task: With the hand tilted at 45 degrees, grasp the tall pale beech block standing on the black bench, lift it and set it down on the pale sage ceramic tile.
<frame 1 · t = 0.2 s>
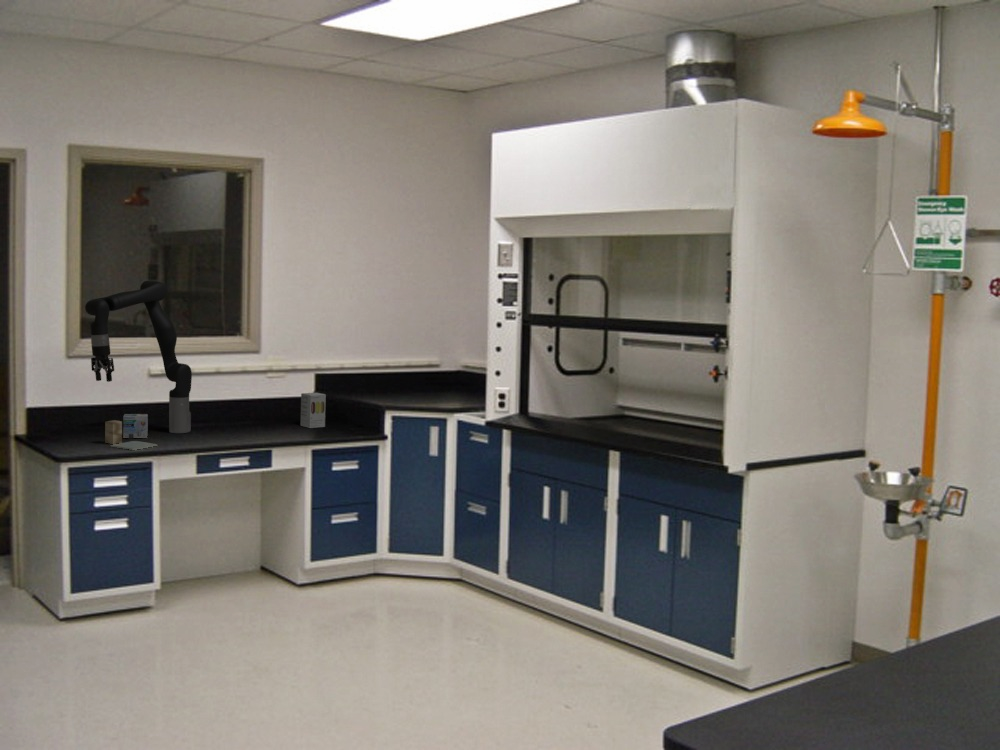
hand: (104, 381, 478), 28 cm above the table, tool pointing down, fingers open, 8 cm apart
beech block: (113, 443, 484), on the table
supplement box: (312, 426, 550), on the table
light bulb box: (135, 438, 500), on the table
sage tile: (133, 446, 478), on the table
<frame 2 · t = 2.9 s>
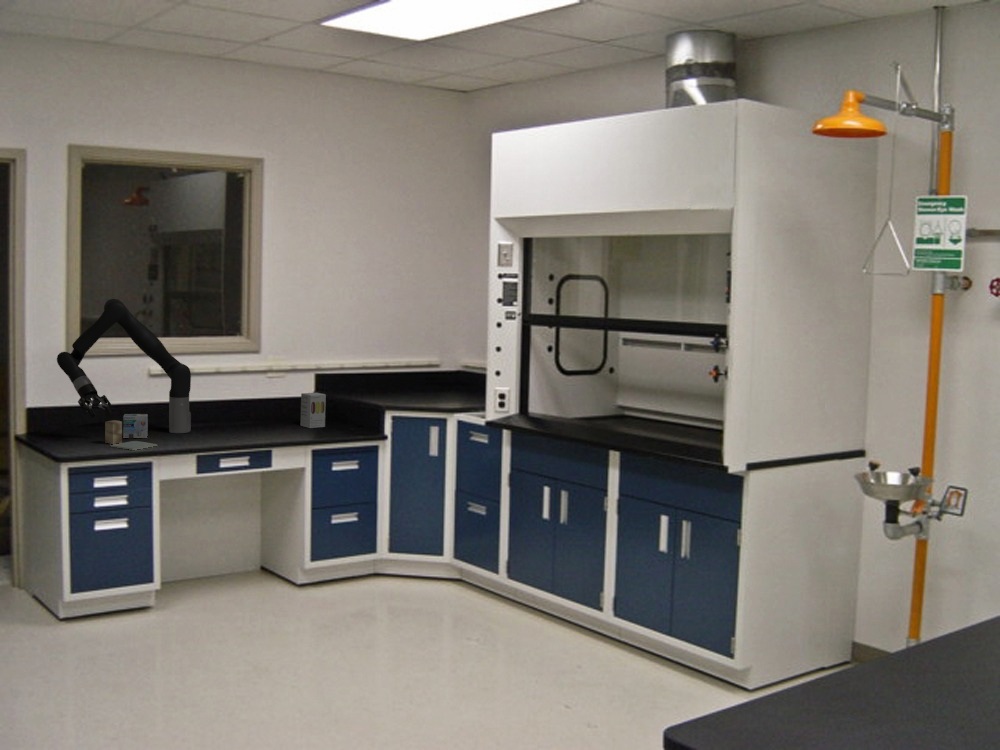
hand: (102, 415, 486), 12 cm above the table, tool tilted 45°, fingers open, 8 cm apart
nothing on the table moved.
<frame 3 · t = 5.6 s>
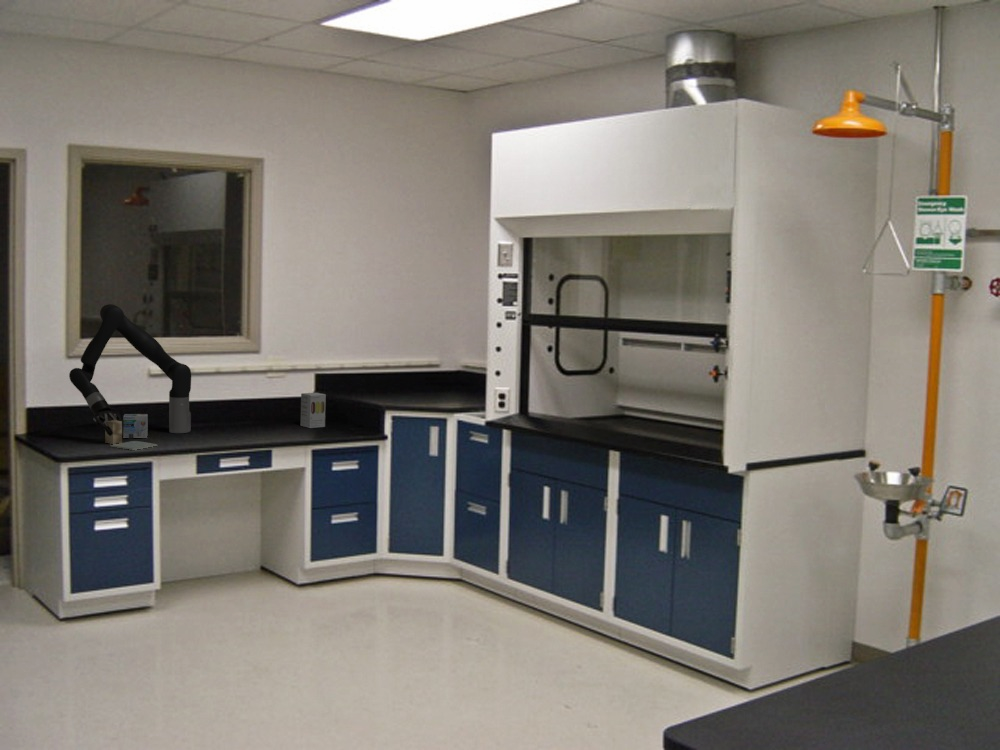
hand: (116, 433, 483), 5 cm above the table, tool tilted 45°, fingers closed on beech block, 5 cm apart
beech block: (113, 443, 484), on the table, touching gripper
everything else where it was.
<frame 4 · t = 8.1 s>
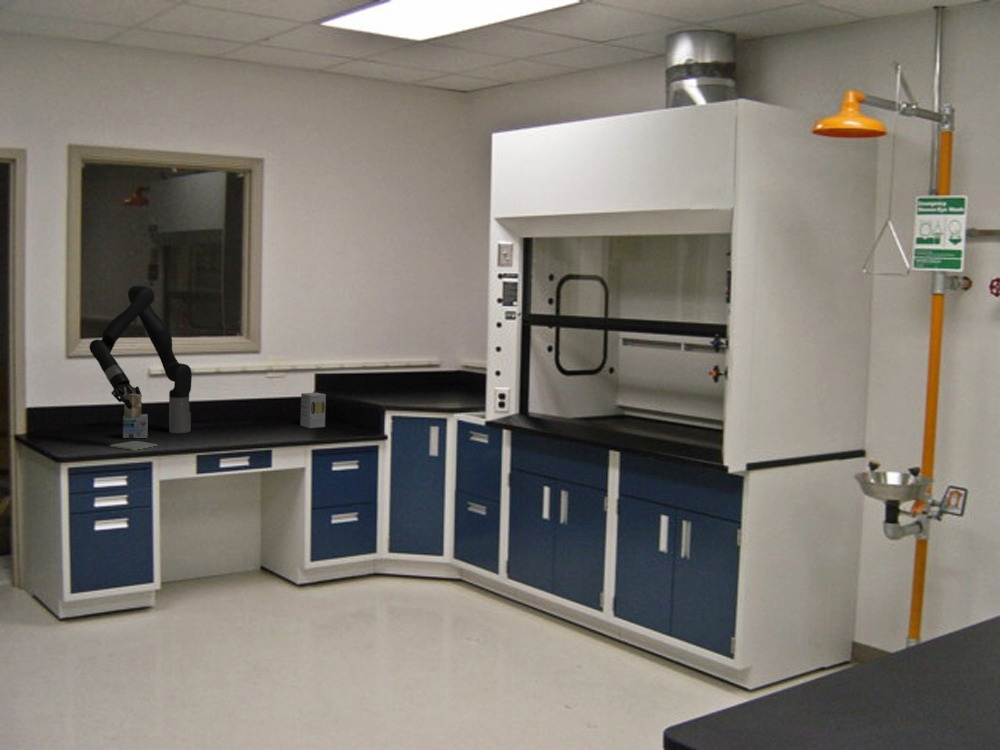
hand: (135, 407, 475), 18 cm above the table, tool tilted 45°, fingers closed on beech block, 5 cm apart
beech block: (132, 417, 476), point 13 cm above the table, touching gripper
everything else where it was.
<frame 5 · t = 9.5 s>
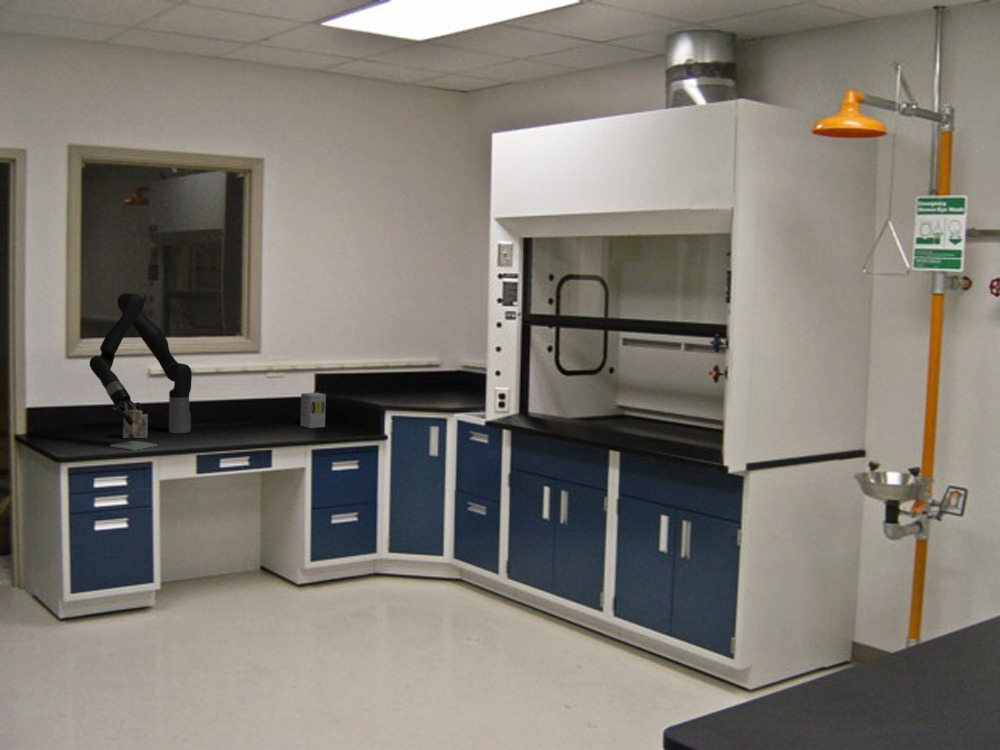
hand: (136, 423, 476), 11 cm above the table, tool tilted 45°, fingers closed on beech block, 5 cm apart
beech block: (133, 433, 477), point 6 cm above the table, touching gripper
everything else where it was.
when the fingers open (7 cm above the table, at t = 10.8 s): beech block stays where it is, resting on sage tile.
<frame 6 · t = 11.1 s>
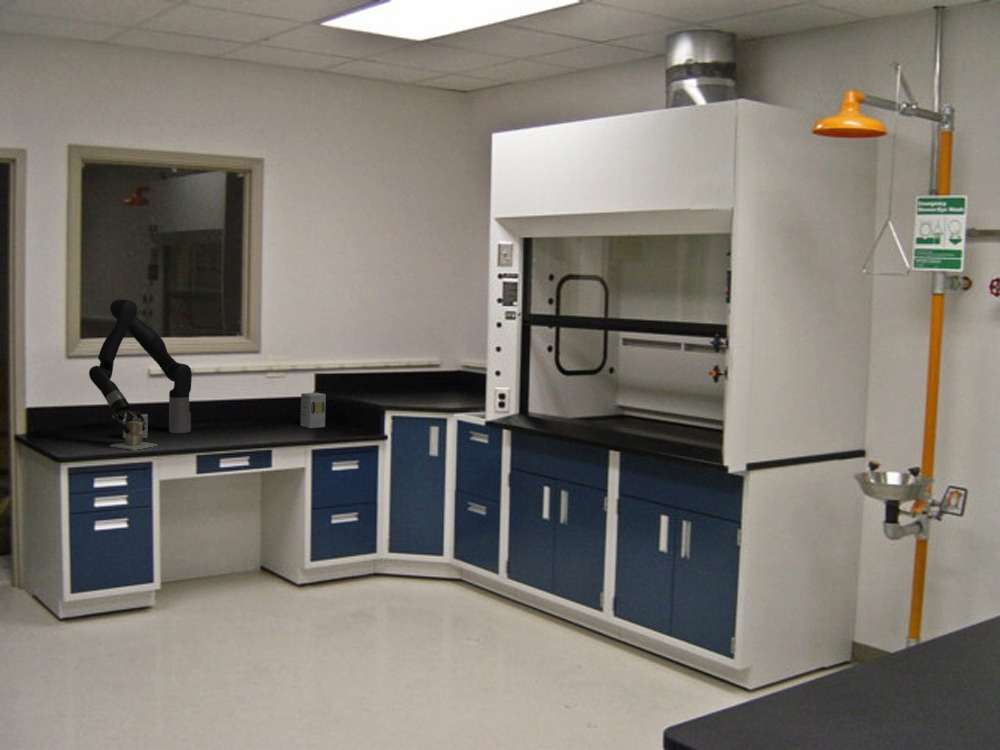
hand: (136, 431, 476), 7 cm above the table, tool tilted 45°, fingers open, 8 cm apart
beech block: (133, 444, 478), point 1 cm above the table, touching sage tile
everything else where it was.
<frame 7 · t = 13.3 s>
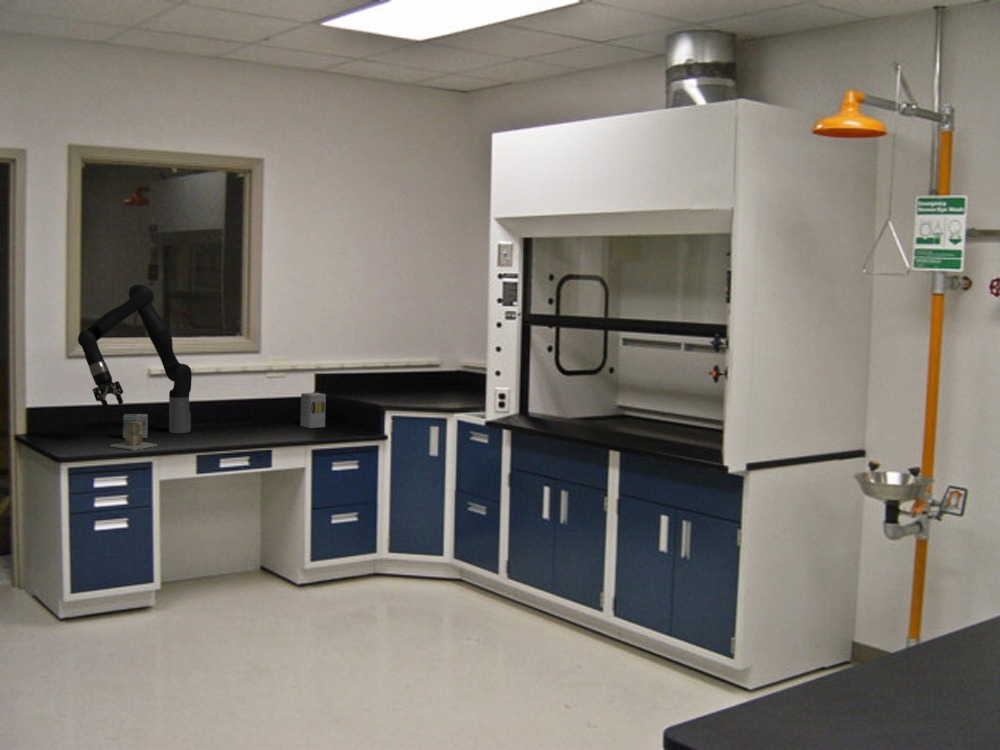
hand: (114, 406, 487), 16 cm above the table, tool tilted 25°, fingers open, 8 cm apart
nothing on the table moved.
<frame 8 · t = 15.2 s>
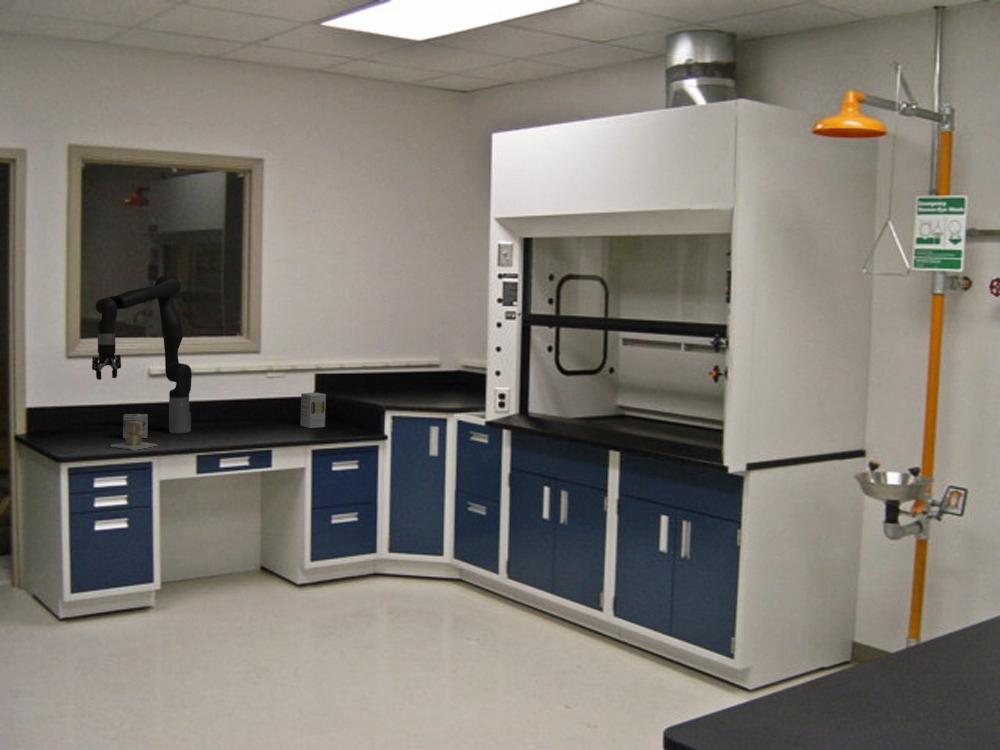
hand: (106, 378, 489), 28 cm above the table, tool pointing down, fingers open, 8 cm apart
nothing on the table moved.
at the end: beech block inside the target area on the sage tile (0.0 cm from its centre), point 1.0 cm above the sage tile's base; beech block tilted 0°; the gripper is holding nothing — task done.
